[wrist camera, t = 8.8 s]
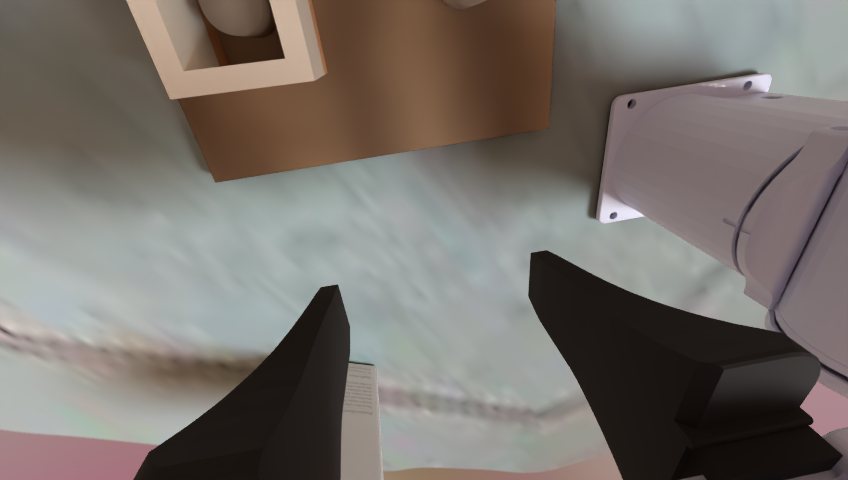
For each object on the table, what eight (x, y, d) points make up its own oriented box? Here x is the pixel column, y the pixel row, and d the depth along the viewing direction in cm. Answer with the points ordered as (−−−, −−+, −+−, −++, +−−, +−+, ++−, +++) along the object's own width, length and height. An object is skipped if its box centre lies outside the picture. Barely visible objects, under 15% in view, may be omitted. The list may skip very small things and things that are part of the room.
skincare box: (291, 391, 28) (243, 603, 17) (300, 351, 26) (253, 561, 15) (367, 398, 29) (366, 595, 19) (381, 361, 27) (389, 557, 17)
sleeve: (296, -66, 14) (268, -110, 10) (327, 72, 16) (314, 80, 12) (167, -52, 14) (85, -93, 10) (218, 86, 16) (170, 99, 12)
